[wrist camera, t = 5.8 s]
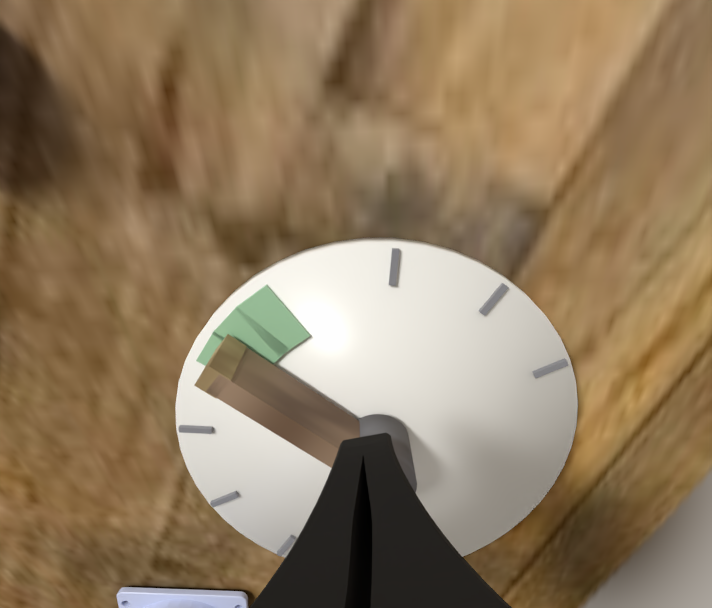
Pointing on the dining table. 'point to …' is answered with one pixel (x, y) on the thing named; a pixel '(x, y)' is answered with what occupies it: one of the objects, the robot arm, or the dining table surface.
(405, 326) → the gauge dial
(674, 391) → the dining table surface
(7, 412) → the dining table surface
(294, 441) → the tuning pointer
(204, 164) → the dining table surface
